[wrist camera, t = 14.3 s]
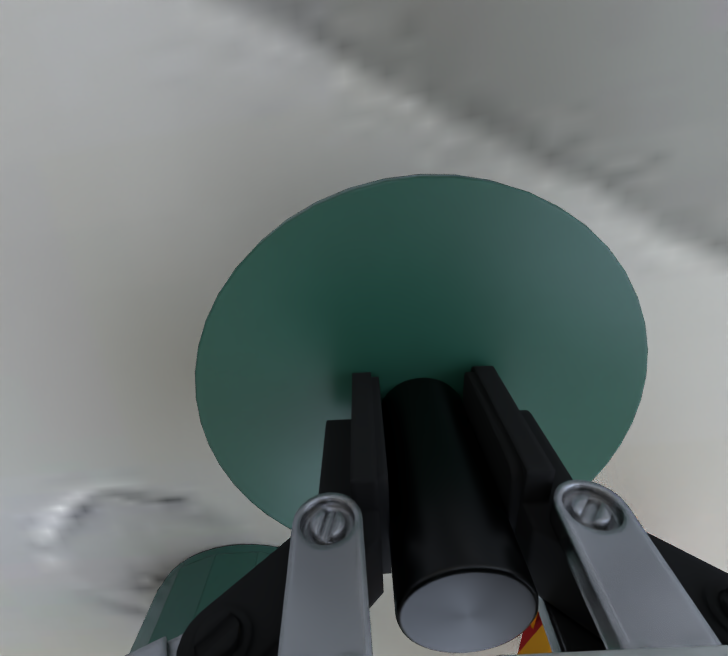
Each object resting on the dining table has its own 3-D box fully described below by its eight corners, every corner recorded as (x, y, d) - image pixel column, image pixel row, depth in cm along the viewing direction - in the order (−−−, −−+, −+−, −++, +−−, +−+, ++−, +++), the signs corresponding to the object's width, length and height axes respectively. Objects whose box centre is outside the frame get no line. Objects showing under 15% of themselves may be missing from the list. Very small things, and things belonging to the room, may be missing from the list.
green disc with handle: (158, 186, 10) (-141, 261, 4) (674, 157, 10) (1165, 190, 4) (248, 536, 16) (179, 791, 9) (581, 519, 15) (726, 765, 9)
